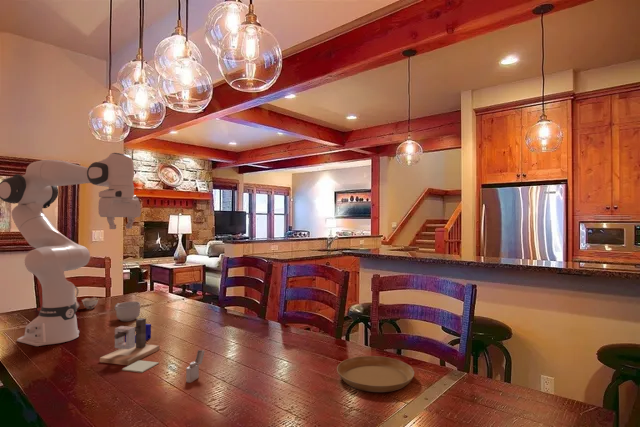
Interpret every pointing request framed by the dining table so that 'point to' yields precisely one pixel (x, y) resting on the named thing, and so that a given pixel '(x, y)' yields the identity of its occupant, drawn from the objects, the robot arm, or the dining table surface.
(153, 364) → the felt pad
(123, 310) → the teacup
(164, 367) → the dining table surface
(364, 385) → the plant saucer
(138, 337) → the hook rack
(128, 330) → the pinkish grey hollow block
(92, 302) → the chinaware
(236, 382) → the dining table surface
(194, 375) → the lighter
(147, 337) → the blue notched block
